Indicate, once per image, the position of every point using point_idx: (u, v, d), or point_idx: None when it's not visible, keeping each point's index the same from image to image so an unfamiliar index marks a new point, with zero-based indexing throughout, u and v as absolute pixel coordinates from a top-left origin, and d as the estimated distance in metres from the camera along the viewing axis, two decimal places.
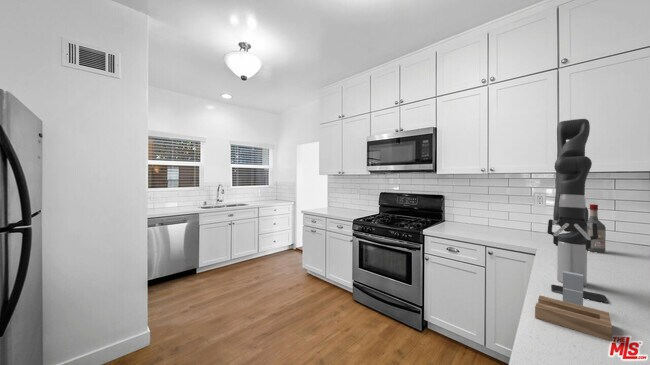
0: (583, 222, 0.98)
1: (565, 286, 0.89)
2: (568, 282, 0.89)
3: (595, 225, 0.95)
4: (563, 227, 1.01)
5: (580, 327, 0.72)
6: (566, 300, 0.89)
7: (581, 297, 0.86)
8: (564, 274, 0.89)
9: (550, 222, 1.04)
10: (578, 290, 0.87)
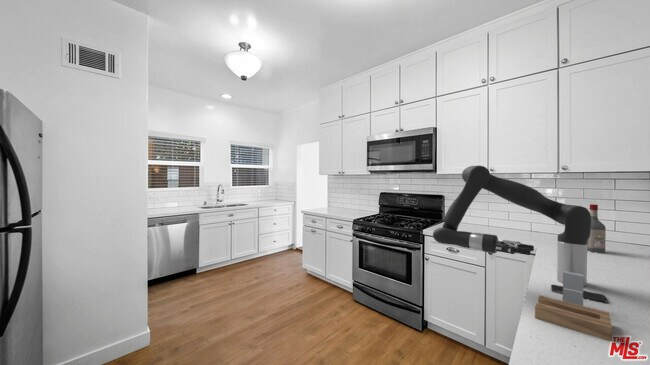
0: None
1: (565, 286, 0.89)
2: (568, 282, 0.89)
3: None
4: None
5: (580, 327, 0.72)
6: (566, 300, 0.89)
7: (581, 297, 0.86)
8: (564, 274, 0.89)
9: None
10: (578, 290, 0.87)
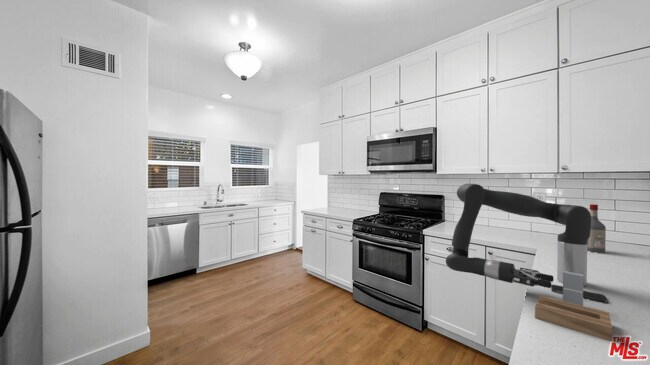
0: None
1: (565, 286, 0.89)
2: (568, 282, 0.89)
3: (516, 282, 0.95)
4: None
5: (580, 327, 0.72)
6: (566, 300, 0.89)
7: (581, 297, 0.86)
8: (564, 274, 0.89)
9: None
10: (578, 290, 0.87)
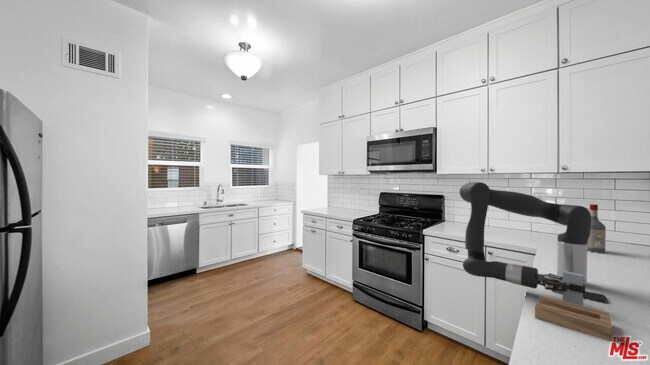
0: None
1: None
2: (568, 282, 0.89)
3: None
4: None
5: (580, 327, 0.72)
6: (566, 300, 0.89)
7: (581, 297, 0.86)
8: (564, 274, 0.89)
9: None
10: None
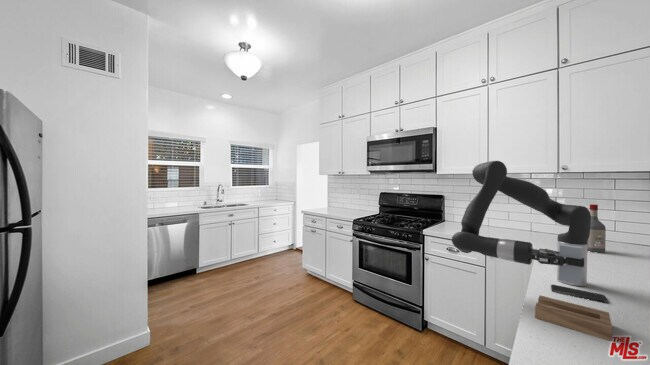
0: None
1: None
2: (565, 256, 0.80)
3: None
4: None
5: (580, 327, 0.72)
6: (563, 276, 0.80)
7: (579, 272, 0.77)
8: (561, 247, 0.80)
9: None
10: None
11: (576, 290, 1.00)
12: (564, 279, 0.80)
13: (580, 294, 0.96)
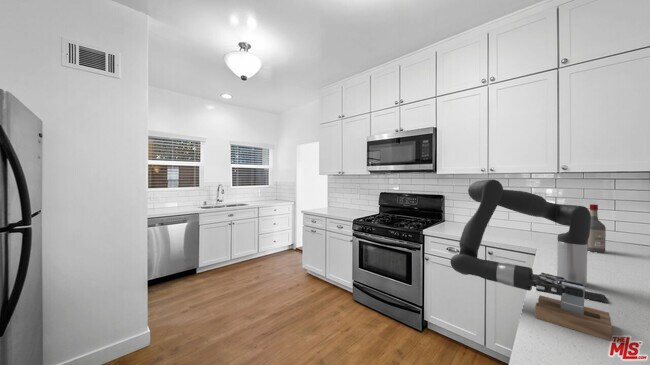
0: None
1: (564, 299, 0.78)
2: (567, 295, 0.78)
3: None
4: None
5: (580, 327, 0.72)
6: None
7: (581, 313, 0.76)
8: None
9: None
10: (578, 304, 0.76)
11: None
12: None
13: None
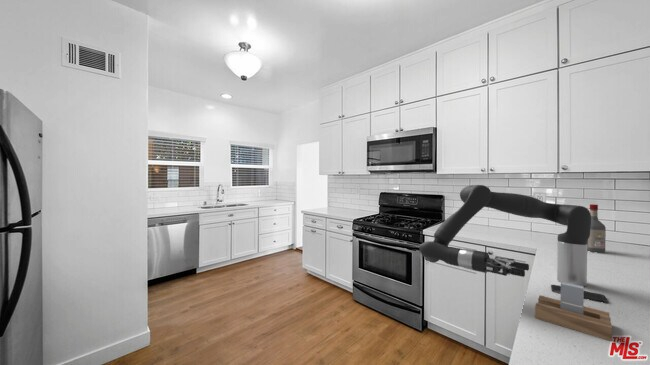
0: None
1: (563, 299, 0.79)
2: (566, 295, 0.78)
3: (489, 271, 0.88)
4: None
5: (580, 327, 0.72)
6: None
7: (581, 312, 0.76)
8: (562, 286, 0.79)
9: None
10: (578, 304, 0.76)
11: None
12: None
13: None
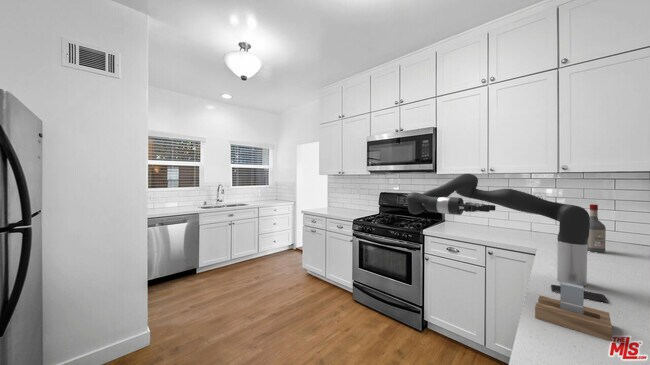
0: None
1: (563, 299, 0.79)
2: (566, 295, 0.78)
3: (461, 210, 1.04)
4: None
5: (580, 327, 0.72)
6: None
7: (581, 312, 0.76)
8: (562, 286, 0.79)
9: None
10: (578, 304, 0.76)
11: None
12: None
13: None
